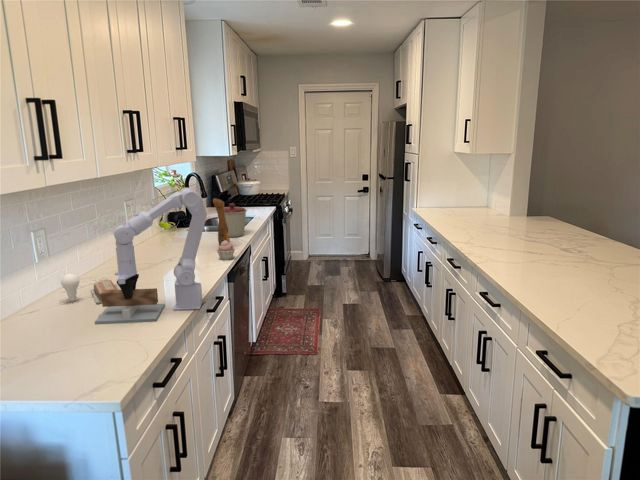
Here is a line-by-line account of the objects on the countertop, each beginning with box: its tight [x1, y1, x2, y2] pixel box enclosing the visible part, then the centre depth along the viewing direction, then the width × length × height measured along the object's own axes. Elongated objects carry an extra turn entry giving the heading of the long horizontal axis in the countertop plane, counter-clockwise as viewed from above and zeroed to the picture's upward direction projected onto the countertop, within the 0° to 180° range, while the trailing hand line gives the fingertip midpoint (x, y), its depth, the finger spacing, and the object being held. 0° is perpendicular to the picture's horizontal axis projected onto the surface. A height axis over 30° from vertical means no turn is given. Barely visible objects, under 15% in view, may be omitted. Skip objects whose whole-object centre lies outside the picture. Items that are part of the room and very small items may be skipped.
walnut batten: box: [101, 287, 159, 308], centre depth 154 cm, size 18×3×5 cm, turn 98°
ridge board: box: [94, 303, 166, 325], centre depth 155 cm, size 20×14×4 cm
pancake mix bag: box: [212, 197, 231, 247], centre depth 247 cm, size 7×19×28 cm, turn 22°
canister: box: [224, 202, 248, 238], centre depth 276 cm, size 18×18×21 cm
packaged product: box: [90, 279, 120, 305], centre depth 174 cm, size 18×5×10 cm
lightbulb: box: [60, 273, 80, 302], centre depth 167 cm, size 6×6×11 cm
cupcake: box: [216, 240, 236, 261], centre depth 226 cm, size 9×9×10 cm
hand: (129, 296), depth 154 cm, fingers closed on walnut batten, 3 cm apart
